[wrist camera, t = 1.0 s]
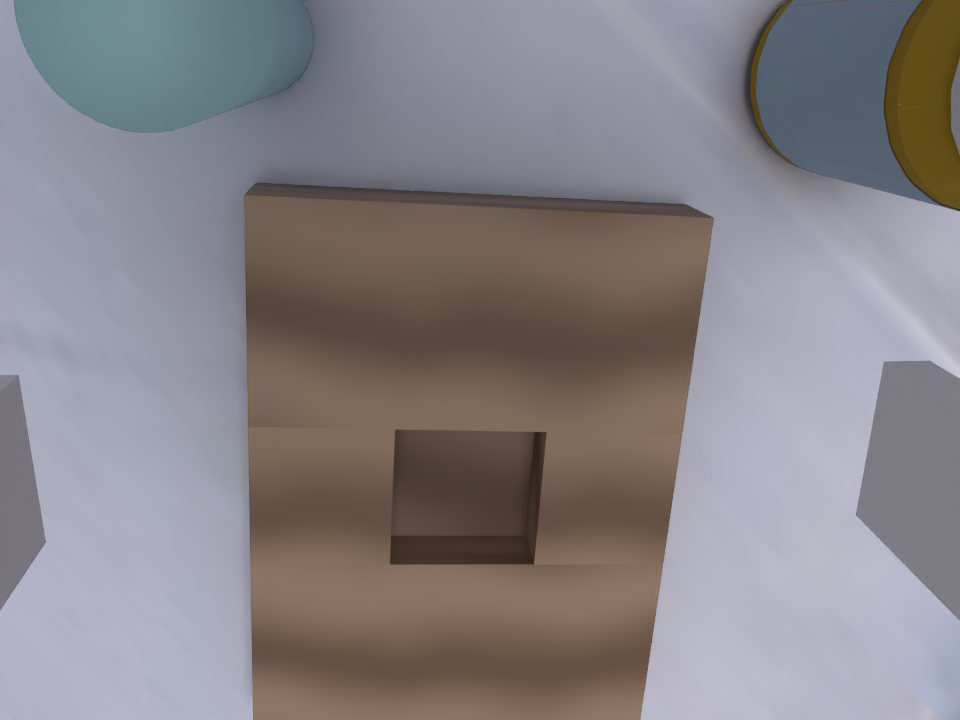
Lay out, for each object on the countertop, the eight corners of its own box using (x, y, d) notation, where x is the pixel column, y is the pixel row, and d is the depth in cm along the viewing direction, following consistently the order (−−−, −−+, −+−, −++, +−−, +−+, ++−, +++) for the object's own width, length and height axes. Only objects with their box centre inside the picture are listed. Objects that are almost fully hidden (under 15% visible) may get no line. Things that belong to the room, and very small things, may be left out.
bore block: (255, 182, 32) (244, 195, 29) (685, 204, 34) (713, 217, 31) (262, 693, 39) (253, 743, 36) (620, 686, 41) (638, 732, 38)
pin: (191, -34, 30) (2, -126, 15) (313, -24, 30) (251, -104, 15) (195, 92, 31) (25, 125, 16) (313, 99, 32) (255, 138, 16)
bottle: (705, 101, 33) (950, 136, 19) (827, -69, 32) (1191, -171, 17) (840, 206, 35) (1156, 308, 21) (961, 50, 33) (1388, 45, 19)
